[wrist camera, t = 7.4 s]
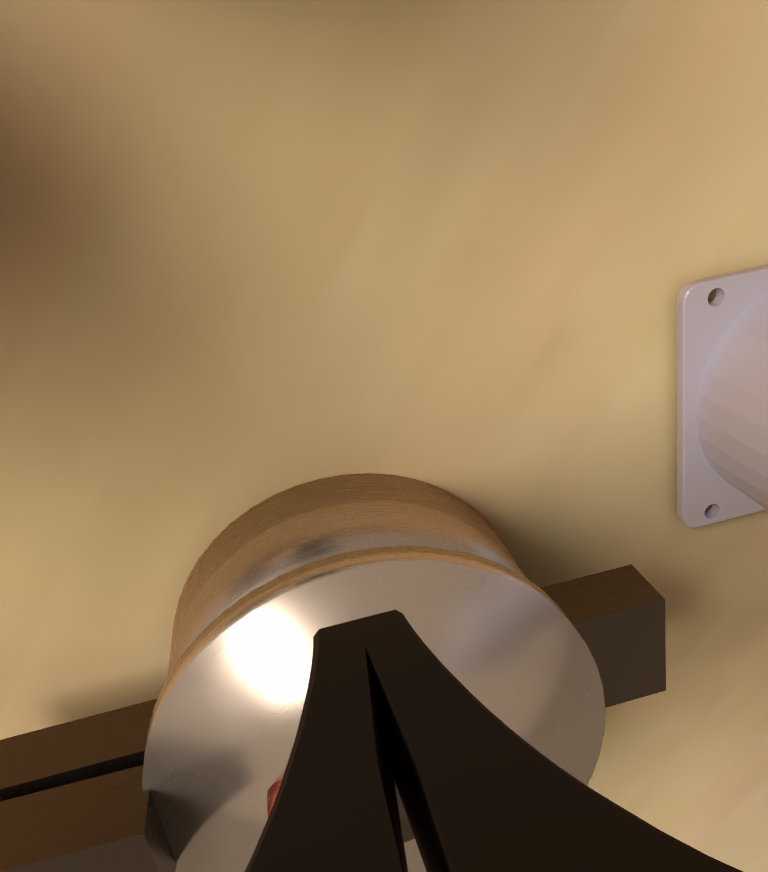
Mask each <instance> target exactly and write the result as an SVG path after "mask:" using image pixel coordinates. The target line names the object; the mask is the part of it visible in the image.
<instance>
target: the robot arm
mask: <svg viewBox="0 0 768 872" xmlns="http://www.w3.org/2000/svg"><path fill="white" fill-rule="evenodd" d="M713 289H716V296H715V298H714V300H713V301H712V302H710V303H708V295H709V293H710V292H711V291H712V290H713ZM711 504H712V507H711V509H710V510H709V511H707V512H705V509H706V508H707V507H708V506H709V505H711ZM763 510H768V265H766V266H761V267H756V268H752V269H747V270H742V271H738V272H733V273H728V274H724V275H719V276H714V277H710V278H705V279H701V280H696V281H692V282H690V283H687V284H686V285H685V286H684V287H683V288H682V289H681V291H680V292H679V294H678V298H677V515H678V519H679V520H680V521H681V522H682V523H683V524H684V525H686V526H687V527H690V528H697V527H701V526H705V525H709V524H713V523H717V522H721V521H724V520H728V519H732V518H736V517H740V516H744V515H748V514H752V513H756V512H759V511H763ZM395 784H396V787H397V790H398V792H399V795H400V798H401V801H402V804H403V807H404V809H405V812H406V815H407V818H408V821H409V824H410V826H411V829H412V832H413V835H414V838H415V841H416V843H417V846H418V849H419V852H420V855H421V857H422V860H423V863H424V866H425V869H426V872H743V871H740V870H738V869H736V868H734V867H731V866H729V865H727V864H725V863H723V862H720V861H718V860H716V859H714V858H712V857H710V856H707V855H706V854H704V853H702V852H700V851H698V850H696V849H694V848H692V847H690V846H689V845H687V844H685V843H683V842H681V841H679V840H677V839H675V838H674V837H672V836H670V835H668V834H666V833H664V832H662V831H660V830H659V829H657V828H655V827H654V826H652V825H650V824H649V823H647V822H645V821H644V820H642V819H640V818H639V817H637V816H635V815H634V814H632V813H630V812H629V811H627V810H625V809H624V808H622V807H620V806H619V805H617V804H615V803H614V802H612V801H610V800H609V799H607V798H605V797H604V796H602V795H600V794H599V793H597V792H595V791H594V790H592V789H591V788H589V787H588V786H586V785H585V784H584V783H582V782H581V781H579V780H578V779H576V778H575V777H573V776H572V775H571V774H569V773H568V772H566V771H565V770H563V769H562V768H560V767H559V766H558V765H556V764H555V763H554V762H552V761H551V760H550V759H548V758H547V757H546V756H544V755H543V754H542V753H540V752H539V751H538V750H536V749H535V748H534V747H532V746H531V745H530V744H529V743H527V742H526V741H525V740H524V739H522V738H521V737H520V736H519V735H517V734H516V733H515V732H514V731H513V730H511V729H510V728H509V727H508V726H507V725H506V724H504V723H503V722H502V721H501V720H500V719H499V718H498V717H497V716H495V715H494V714H493V713H492V712H491V711H490V710H489V709H487V708H486V707H485V706H484V705H483V704H482V703H481V702H480V701H479V700H478V699H477V698H476V697H475V696H474V695H472V694H471V693H470V691H469V690H468V689H467V688H466V687H465V686H464V685H463V684H462V683H461V682H460V681H459V680H458V679H457V678H456V677H455V676H454V675H453V674H452V673H451V672H450V671H449V670H448V669H447V668H446V667H445V666H444V665H443V664H442V663H441V662H440V661H439V659H438V658H437V657H436V656H435V655H434V654H433V653H432V651H431V650H430V649H429V648H428V647H427V646H426V644H425V643H424V642H423V641H422V639H421V638H420V637H419V636H418V634H417V633H416V632H415V630H414V629H413V628H412V626H411V625H410V624H409V622H408V621H407V619H406V618H405V616H404V614H403V613H401V612H399V611H397V610H396V609H395V610H391V611H387V612H383V613H379V614H375V615H372V616H368V617H364V618H360V619H356V620H352V621H348V622H344V623H341V624H337V625H333V626H329V627H325V628H321V629H319V630H318V631H317V632H316V634H315V635H314V636H313V655H312V664H311V671H310V677H309V682H308V688H307V693H306V697H305V701H304V706H303V710H302V714H301V718H300V722H299V726H298V730H297V734H296V737H295V741H294V744H293V747H292V750H291V753H290V757H289V760H288V763H287V766H286V769H285V772H284V775H283V778H282V781H281V785H280V787H279V790H278V793H277V796H276V798H275V801H274V804H273V806H272V809H271V812H270V814H269V817H268V819H267V822H266V824H265V827H264V829H263V831H262V834H261V836H260V839H259V841H258V843H257V846H256V848H255V850H254V853H253V855H252V857H251V859H250V861H249V863H248V866H247V868H246V870H245V872H408V867H407V861H406V854H405V847H404V841H403V834H402V828H401V821H400V814H399V808H398V801H397V794H396V788H395Z"/></svg>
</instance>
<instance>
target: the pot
mask: <svg viewBox="0 0 768 872" xmlns="http://www.w3.org/2000/svg"><path fill="white" fill-rule="evenodd" d="M408 545H410V546H426V547H441V548H446V549H451V550H456V551H461V552H467V553H471V554H474V555H477V556H480V557H483V558H486V559H489V560H492V561H495V562H497V563H499V564H501V565H503V566H505V567H507V568H509V569H511V570H513V571H515V572H517V573H519V574H521V575H523V576H524V577H525V578H526V576H525V575H524V574H523V572H522V571H521V569H520V568H519V566H518V565H517V563H516V562H515V560H514V559H513V557H512V556H511V555H510V553H509V552H508V550H507V549H506V547H505V546H504V544H503V543H502V541H501V540H500V538H499V537H498V536H497V534H496V533H495V532H494V531H493V529H492V528H491V527H490V525H489V524H488V523H487V522H486V521H485V520H484V519H483V518H482V517H481V516H480V515H479V514H478V513H477V512H476V511H475V510H474V509H472V508H471V507H470V506H468V505H467V504H465V503H464V502H462V501H461V500H460V499H458V498H457V497H455V496H453V495H451V494H449V493H447V492H445V491H443V490H441V489H439V488H437V487H435V486H432V485H429V484H426V483H423V482H420V481H417V480H413V479H408V478H403V477H398V476H393V475H381V474H352V475H340V476H335V477H329V478H323V479H318V480H315V481H311V482H308V483H305V484H301V485H298V486H295V487H292V488H290V489H288V490H285V491H283V492H281V493H278V494H276V495H274V496H272V497H270V498H268V499H266V500H265V501H263V502H261V503H259V504H258V505H256V506H254V507H253V508H251V509H249V510H248V511H247V512H245V513H244V514H243V515H241V516H240V517H239V518H237V519H236V520H235V521H233V522H232V523H231V524H230V525H229V526H228V527H227V528H226V529H225V530H224V531H223V532H222V533H220V534H219V535H218V536H217V537H216V538H215V539H214V540H213V542H212V543H211V544H210V545H209V547H208V548H207V549H206V550H205V552H204V553H203V554H202V556H201V557H200V558H199V560H198V561H197V563H196V565H195V566H194V568H193V570H192V571H191V573H190V575H189V577H188V578H187V581H186V583H185V586H184V588H183V591H182V593H181V596H180V598H179V602H178V607H177V611H176V615H175V620H174V628H173V636H172V644H171V653H170V661H169V669H168V676H169V674H170V673H171V671H172V670H173V668H174V666H175V665H176V663H177V662H178V660H179V658H180V657H181V655H182V654H183V653H184V652H185V651H186V649H187V648H188V647H189V646H190V645H191V643H192V642H193V641H194V640H195V639H196V637H197V636H198V635H199V634H200V633H201V632H202V631H203V630H204V629H205V628H206V627H207V626H208V625H209V624H210V623H211V622H212V621H214V620H215V619H216V618H217V617H218V616H219V615H220V614H221V613H222V612H223V611H224V610H226V609H227V608H229V607H230V606H231V605H233V604H234V603H236V602H237V601H238V600H240V599H241V598H243V597H244V596H245V595H247V594H248V593H250V592H251V591H253V590H254V589H256V588H258V587H260V586H262V585H264V584H265V583H267V582H269V581H271V580H273V579H274V578H276V577H278V576H280V575H282V574H284V573H287V572H289V571H292V570H294V569H296V568H299V567H301V566H304V565H306V564H308V563H311V562H314V561H317V560H321V559H324V558H328V557H331V556H335V555H338V554H342V553H346V552H352V551H357V550H363V549H369V548H375V547H390V546H408ZM541 589H542V590H543V591H544V592H545V593H546V594H547V595H548V596H549V597H550V598H551V599H552V600H553V601H554V602H555V603H556V604H558V605H559V607H560V608H561V609H562V611H563V612H564V614H565V615H566V616H567V618H568V619H569V620H570V622H571V623H572V625H573V626H574V627H575V629H576V630H577V632H578V633H579V634H580V636H581V637H582V639H583V640H584V641H585V643H586V644H587V646H588V648H589V650H590V652H591V654H592V656H593V658H594V661H595V663H596V665H597V668H598V671H599V675H600V678H601V682H602V685H603V692H604V701H605V707H609V706H612V705H616V704H619V703H623V702H626V701H630V700H633V699H637V698H641V697H644V696H648V695H651V694H655V693H658V692H662V691H665V690H666V662H665V599H664V598H663V597H662V596H661V595H660V594H659V593H658V592H657V591H656V590H655V589H654V588H653V587H652V586H651V584H650V583H649V582H648V581H647V580H646V579H645V578H644V577H643V576H642V575H641V574H640V573H639V572H638V571H637V570H636V569H635V568H634V567H633V566H632V565H628V566H624V567H620V568H616V569H612V570H608V571H605V572H601V573H597V574H593V575H589V576H585V577H582V578H578V579H574V580H570V581H566V582H562V583H559V584H555V585H551V586H547V587H543V588H541ZM156 701H157V699H155V700H151V701H147V702H144V703H140V704H136V705H132V706H128V707H125V708H121V709H117V710H113V711H109V712H105V713H102V714H98V715H94V716H90V717H86V718H83V719H79V720H75V721H71V722H67V723H64V724H60V725H56V726H52V727H48V728H44V729H41V730H37V731H33V732H29V733H25V734H22V735H18V736H14V737H10V738H6V739H3V740H0V802H1V801H4V800H8V799H12V798H16V797H20V796H24V795H28V794H32V793H36V792H40V791H43V790H47V789H51V788H55V787H59V786H63V785H67V784H71V783H75V782H79V781H83V780H86V779H90V778H94V777H98V776H102V775H106V774H110V773H114V772H118V771H122V770H125V769H129V768H133V767H137V766H141V765H144V755H145V748H146V741H147V734H148V729H149V725H150V721H151V717H152V714H153V710H154V706H155V704H156Z"/></svg>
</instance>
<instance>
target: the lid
mask: <svg viewBox="0 0 768 872" xmlns="http://www.w3.org/2000/svg"><path fill="white" fill-rule="evenodd" d="M395 609H396V610H397V611H399V612H401V613H403V614H404V616H405V618H406V619H407V621H408V622H409V624H410V625H411V626H412V628H413V629H414V630H415V632H416V633H417V634H418V636H419V637H420V638H421V639H422V641H423V642H424V643H425V644H426V646H427V647H428V648H429V649H430V650H431V651H432V653H433V654H434V655H435V656H436V657H437V658H438V659H439V661H440V662H441V663H442V664H443V665H444V666H445V667H446V668H447V669H448V670H449V671H450V672H451V673H452V674H453V675H454V676H455V677H456V678H457V679H458V680H459V681H460V682H461V683H462V684H463V685H464V686H465V687H466V688H467V689H468V690H469V691H470V693H471V694H472V695H474V696H475V697H476V698H477V699H478V700H479V701H480V702H481V703H482V704H483V705H484V706H485V707H486V708H487V709H489V710H490V711H491V712H492V713H493V714H494V715H495V716H497V717H498V718H499V719H500V720H501V721H502V722H503V723H504V724H506V725H507V726H508V727H509V728H510V729H511V730H513V731H514V732H515V733H516V734H517V735H519V736H520V737H521V738H522V739H524V740H525V741H526V742H527V743H529V744H530V745H531V746H532V747H534V748H535V749H536V750H538V751H539V752H540V753H542V754H543V755H544V756H546V757H547V758H548V759H550V760H551V761H552V762H554V763H555V764H556V765H558V766H559V767H560V768H562V769H563V770H565V771H566V772H568V773H569V774H571V775H572V776H573V777H575V778H576V779H578V780H579V781H581V782H582V783H584V784H585V785H586V786H587V784H588V782H589V780H590V778H591V776H592V774H593V771H594V768H595V765H596V762H597V760H598V757H599V754H600V749H601V744H602V739H603V735H604V725H605V701H604V692H603V685H602V682H601V678H600V675H599V671H598V668H597V665H596V663H595V661H594V658H593V656H592V654H591V652H590V650H589V648H588V646H587V644H586V643H585V641H584V640H583V639H582V637H581V636H580V634H579V633H578V632H577V630H576V629H575V627H574V626H573V625H572V623H571V622H570V620H569V619H568V618H567V616H566V615H565V614H564V612H563V611H562V609H561V608H560V607H559V605H558V604H556V603H555V602H554V601H553V600H552V599H551V598H550V597H549V596H548V595H547V594H546V593H545V592H544V591H543V590H542V589H541V588H540V587H538V586H537V585H535V584H534V583H533V582H531V581H530V580H528V579H527V578H525V577H524V576H523V575H521V574H519V573H517V572H515V571H513V570H511V569H509V568H507V567H505V566H503V565H501V564H499V563H497V562H495V561H492V560H489V559H486V558H483V557H480V556H477V555H474V554H471V553H467V552H461V551H456V550H451V549H446V548H441V547H426V546H410V545H408V546H390V547H375V548H369V549H363V550H357V551H352V552H346V553H342V554H338V555H335V556H331V557H328V558H324V559H321V560H317V561H314V562H311V563H308V564H306V565H304V566H301V567H299V568H296V569H294V570H292V571H289V572H287V573H284V574H282V575H280V576H278V577H276V578H274V579H273V580H271V581H269V582H267V583H265V584H264V585H262V586H260V587H258V588H256V589H254V590H253V591H251V592H250V593H248V594H247V595H245V596H244V597H243V598H241V599H240V600H238V601H237V602H236V603H234V604H233V605H231V606H230V607H229V608H227V609H226V610H224V611H223V612H222V613H221V614H220V615H219V616H218V617H217V618H216V619H215V620H214V621H212V622H211V623H210V624H209V625H208V626H207V627H206V628H205V629H204V630H203V631H202V632H201V633H200V634H199V635H198V636H197V637H196V639H195V640H194V641H193V642H192V643H191V645H190V646H189V647H188V648H187V649H186V651H185V652H184V653H183V654H182V655H181V657H180V658H179V660H178V662H177V663H176V665H175V666H174V668H173V670H172V671H171V673H170V674H169V676H168V677H167V679H166V681H165V683H164V685H163V688H162V690H161V692H160V694H159V697H158V699H157V701H156V704H155V706H154V710H153V714H152V717H151V721H150V725H149V729H148V734H147V741H146V748H145V755H144V765H141V766H137V767H133V768H129V769H125V770H122V771H118V772H114V773H110V774H106V775H102V776H98V777H94V778H90V779H86V780H83V781H79V782H75V783H71V784H67V785H63V786H59V787H55V788H51V789H47V790H43V791H40V792H36V793H32V794H28V795H24V796H20V797H16V798H12V799H8V800H4V801H1V802H0V872H245V870H246V868H247V866H248V863H249V861H250V859H251V857H252V855H253V853H254V850H255V848H256V846H257V843H258V841H259V839H260V836H261V834H262V831H263V829H264V827H265V824H266V822H267V819H268V817H269V814H270V812H271V809H272V806H273V804H274V801H275V798H276V796H277V793H278V790H279V787H280V785H281V781H282V778H283V775H284V772H285V769H286V766H287V763H288V760H289V757H290V753H291V750H292V747H293V744H294V741H295V737H296V734H297V730H298V726H299V722H300V718H301V714H302V710H303V706H304V701H305V697H306V693H307V688H308V682H309V677H310V671H311V664H312V655H313V636H314V635H315V634H316V632H317V631H318V630H319V629H321V628H325V627H329V626H333V625H337V624H341V623H344V622H348V621H352V620H356V619H360V618H364V617H368V616H372V615H375V614H379V613H383V612H387V611H391V610H395ZM395 788H396V794H397V801H398V808H399V814H400V821H401V828H402V834H403V841H404V847H405V854H406V861H407V867H408V872H426V869H425V866H424V863H423V860H422V857H421V855H420V852H419V849H418V846H417V843H416V841H415V838H414V835H413V832H412V829H411V826H410V824H409V821H408V818H407V815H406V812H405V809H404V807H403V804H402V801H401V798H400V795H399V792H398V790H397V787H396V784H395Z"/></svg>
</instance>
